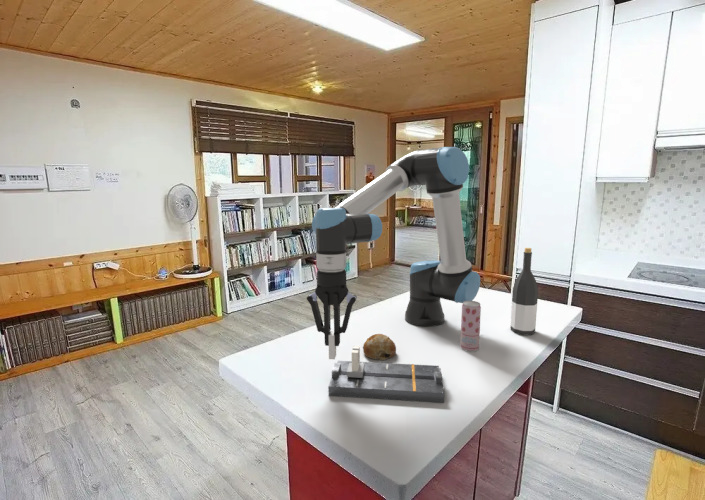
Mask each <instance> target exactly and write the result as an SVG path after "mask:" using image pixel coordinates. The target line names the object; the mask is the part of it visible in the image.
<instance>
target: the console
mask: <svg viewBox="0 0 705 500" xmlns="http://www.w3.org/2000/svg"><path fill="white" fill-rule="evenodd" d="M349 363H352V360H337V362H334V364H333V367H332V370H331V377H330V378H331V379H330V381H329V384H328V386H327V387H328V388H327V389H328V391H327V392H328V396H329V397H331V396H332V397H344V398H345V397H346V398H360V399H361V398H363V399H379V400H394V401H405V402H406V401H410V402H425V403H441V404H444V403H445V390H444V385H443V374H442V369H441V367H440V365H431V364H430V365H429V364H414V363H411V364H410V363H390V362H389V363H388V362H371V361H369V362H367V361H360V363H364V373H363V378H356V377H347V370H348V366H349Z"/></svg>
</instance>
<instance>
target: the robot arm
mask: <svg viewBox="0 0 705 500" xmlns="http://www.w3.org/2000/svg"><path fill="white" fill-rule="evenodd" d="M469 173H470V164H469V160H468V158H467V155H466V154H465V152H464V151H462V149H460V148H459V147H456V146H441V147H435V148H434V147H433V148H426V149H417V150H414V151H411V152H408V154H405V155H404V156H401V157H400V158H399V159H397V160H396V161H394V162H392V163H391V164H389V165H388V166H387V167H386V168H385V171H384V173H382V174H381V175H379V176H377V177H376V178H375V179H373V180H372V181H371V182H369V183H368V184H366V185H365V186H364V187H362V188H361V189H359V190H358V191H356V192H354V193H353V194H352V195H351V196H349V197H347V198H346V199H345V200H344V201H342V202H340V203H339V204H338V205H336V206H335V207H320V208H318V209H317V210H316V213H315V215H314V216H313V218H312V221H311V228H312V231H313V232H314V234H315V242H316V243H315V244H316V245H315V247H316V250H315V251H316V255H315V256H316V268H317V271H316V288H315V290H314V292H312V293H310V294H309V295H308V296H306V300H307V302H308V303H309V304H310V308H311V311H312V315H313V319H314V322H315V326H316V331H317V332H319V333H323V334H324V346H327V347H328V360H335V359H336V357H337V347H339V346H340V344H341V334H345V333H346V332H347V329H348V325H349V323H350V322H349V321H350V317H351V313H352V309H353V305H354V304H355V303H356V301H357V298H358V296H357V295H355V294H352V293H350V292H349V288H348V285H347V270H346V268H347V245H350V244H359V243H370V242H374V241H376V240H378V239H379V238H380V237H381V235H382V233H383V223H382V220H381V218H380V217H379V216H378V215H377V214H374V213H370V212H372V211H373V210H375V209H376V208H377V207H379V206H381V204H383V203H384V202H385V201H387V200H388V199H390V197H392V196H393V195H395V194H396V193H397V192H403V191H405V190H406V189H408V188H410V187H414V186H425V189H426V193H427V194H428V195H429V196H430V197H431V198H432V205H433V207H432V208H433V213H434V219H435V220H434V221H435V228H436V234H437V236H436V237H437V241H438V243H437V244H438V251H439V257H440V260H422V261H416V262H413V263H412V264H411V265H410V269H409V301H408V304H407V307H406V310H405V313H404V319H405V321H406V322H407V323H409V324H412V325H415V326H420V327H435V326H439V325H443V323H444V322H445V312H444V310H443V307H442V303H441V299H443V300H446V301H451V302H454V303H456V304H459V303H460V304H463V302H464V301H474V299H475V298H476V297H477V295H478V294H479V290H480V286H481V276H480V274H479V272H477V271H475V270H473V268H472V267H473V266H472V263H471V261H469V260H468V259H467V255H466V253H467V252H466V245H465V238H464V237H465V236H464V227H463V218H462V217H463V216H462V209H461V201H460V192H461V191H462V190H463V188H464V183H466V181H467V180H468V178H469ZM318 299H319V300H320V302H321V304H322V305H323V317H322V314H321V310H320V306H319V303H318ZM345 299H346V302H347V305H346V307H345V308H346V309H345V313H344V318H343V322H342V325H341V304H342V302H343V301H344V300H345ZM331 306H333V331H331V330H332V328H331V327H332V326H331V325H332V324H331Z"/></svg>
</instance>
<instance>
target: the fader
mask: <svg viewBox="0 0 705 500" xmlns="http://www.w3.org/2000/svg"><path fill="white" fill-rule="evenodd" d="M360 348H361V346H360V345H359V346H358V345H356V346H355V345H354V346H353V347H352V350H351V361H352V363H349V366H348V370H347V377H356V378H363V373H364V363H360V362H361V361H360V360H361V359H360V356H361V355H360V354H361V353H360V352H361V349H360Z"/></svg>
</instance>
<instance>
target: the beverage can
mask: <svg viewBox="0 0 705 500" xmlns="http://www.w3.org/2000/svg"><path fill="white" fill-rule="evenodd" d="M481 310H482V307H481V303H480V302H479V301H475V300H472V301H464V302H463V303H461V325H460V326H461V327H460V342H459V343H460V344H459V345H460V349H461V350H463V351H466V352H472V353H473V352H477V351H478V350H480V333H481V332H480V331H481V315H482V314H481V312H482V311H481Z"/></svg>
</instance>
